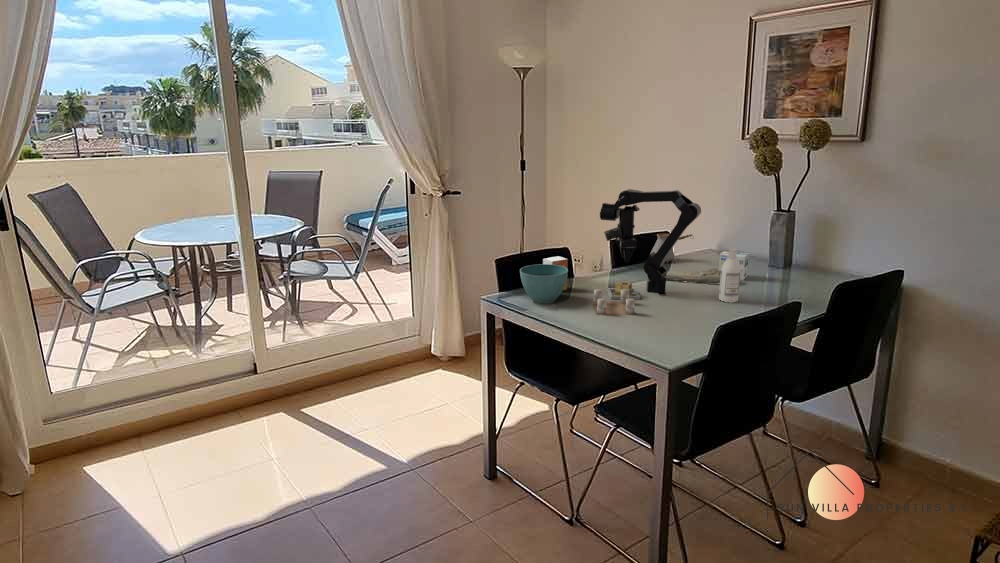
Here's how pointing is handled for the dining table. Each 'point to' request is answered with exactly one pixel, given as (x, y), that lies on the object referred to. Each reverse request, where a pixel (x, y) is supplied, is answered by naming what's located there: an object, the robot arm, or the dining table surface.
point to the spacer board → (613, 304)
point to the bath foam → (730, 278)
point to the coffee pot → (661, 240)
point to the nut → (620, 286)
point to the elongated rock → (695, 276)
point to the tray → (620, 296)
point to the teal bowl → (543, 281)
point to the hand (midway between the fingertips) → (624, 260)
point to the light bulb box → (742, 261)
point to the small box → (557, 263)
